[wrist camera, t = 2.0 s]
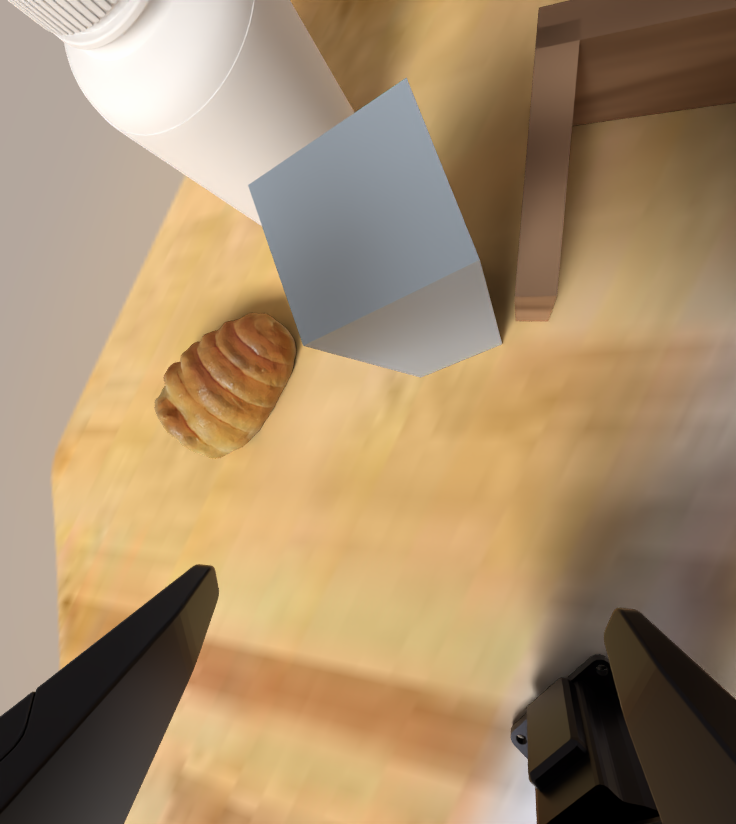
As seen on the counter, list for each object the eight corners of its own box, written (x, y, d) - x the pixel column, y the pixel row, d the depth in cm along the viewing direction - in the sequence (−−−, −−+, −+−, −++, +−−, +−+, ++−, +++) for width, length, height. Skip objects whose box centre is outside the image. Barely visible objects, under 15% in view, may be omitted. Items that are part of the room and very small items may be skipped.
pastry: (258, 291, 26) (217, 274, 22) (325, 366, 25) (293, 361, 21) (176, 394, 29) (128, 393, 25) (233, 467, 27) (189, 478, 24)
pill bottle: (242, 236, 26) (-81, 42, 12) (270, 105, 25) (-42, -272, 11) (353, 255, 24) (107, 37, 9) (389, 110, 23) (177, -373, 9)
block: (502, 344, 21) (479, 260, 9) (420, 377, 22) (303, 345, 10) (470, 264, 21) (406, 77, 9) (392, 302, 23) (248, 185, 11)
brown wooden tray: (815, 322, 17) (932, 290, 12) (515, 321, 21) (514, 296, 16) (848, 47, 16) (983, -99, 11) (534, 100, 20) (538, 7, 15)
